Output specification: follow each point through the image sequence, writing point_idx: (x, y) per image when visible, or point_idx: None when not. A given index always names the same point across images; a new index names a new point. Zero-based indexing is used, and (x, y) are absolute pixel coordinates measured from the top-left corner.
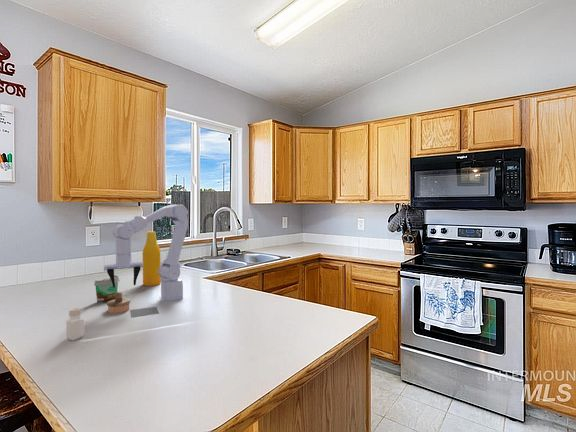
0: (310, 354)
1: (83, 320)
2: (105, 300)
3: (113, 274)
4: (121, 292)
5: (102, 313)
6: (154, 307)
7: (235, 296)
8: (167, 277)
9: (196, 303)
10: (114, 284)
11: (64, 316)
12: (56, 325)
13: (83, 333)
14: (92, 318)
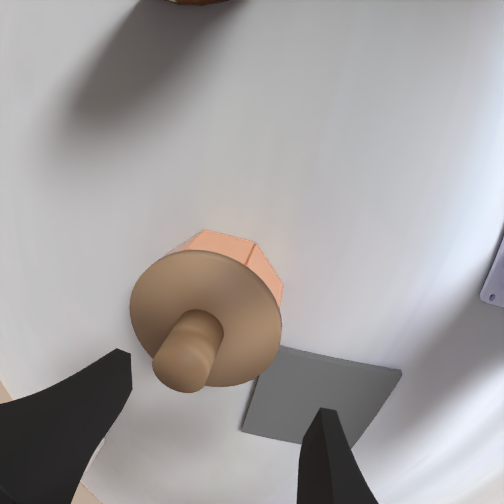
0: None
1: (85, 472)
2: (188, 2)
3: (64, 502)
4: (200, 380)
5: (137, 270)
6: (385, 385)
7: None
8: None
9: None
10: (115, 413)
11: (12, 195)
12: (13, 294)
13: (100, 447)
14: (100, 313)
